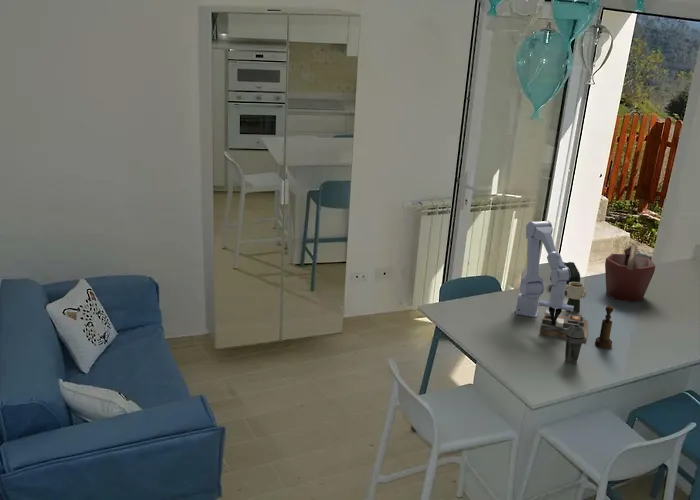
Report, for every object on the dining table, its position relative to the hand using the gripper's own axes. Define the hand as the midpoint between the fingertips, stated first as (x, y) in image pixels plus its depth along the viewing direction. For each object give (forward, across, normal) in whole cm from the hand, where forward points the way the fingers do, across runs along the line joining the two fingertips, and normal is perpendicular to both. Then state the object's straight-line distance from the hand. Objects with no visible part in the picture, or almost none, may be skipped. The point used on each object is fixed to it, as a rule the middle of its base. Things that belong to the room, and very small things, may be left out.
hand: (553, 323), depth 299 cm
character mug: (+4, +7, +30) cm, 31 cm away
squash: (+4, +1, +58) cm, 58 cm away
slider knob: (+2, +3, 0) cm, 3 cm away
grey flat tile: (+1, -2, +12) cm, 12 cm away
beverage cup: (+4, +9, -25) cm, 27 cm away
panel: (+4, +5, +6) cm, 8 cm away
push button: (+2, +9, +12) cm, 15 cm away
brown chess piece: (+4, +21, -4) cm, 22 cm away
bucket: (+4, +31, +61) cm, 68 cm away
